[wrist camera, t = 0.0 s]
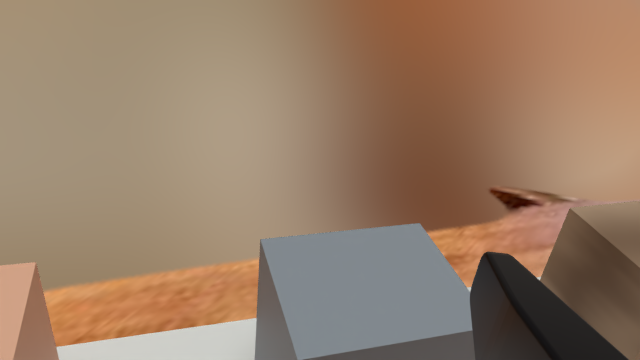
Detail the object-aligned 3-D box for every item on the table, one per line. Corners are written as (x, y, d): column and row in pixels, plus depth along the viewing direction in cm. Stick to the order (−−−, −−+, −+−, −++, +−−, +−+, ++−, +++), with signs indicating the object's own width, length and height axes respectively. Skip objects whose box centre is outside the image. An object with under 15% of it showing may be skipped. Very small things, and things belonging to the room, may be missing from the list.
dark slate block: (446, 453, 22) (495, 326, 18) (282, 493, 20) (297, 360, 16) (390, 342, 27) (419, 223, 23) (254, 365, 25) (260, 239, 21)
